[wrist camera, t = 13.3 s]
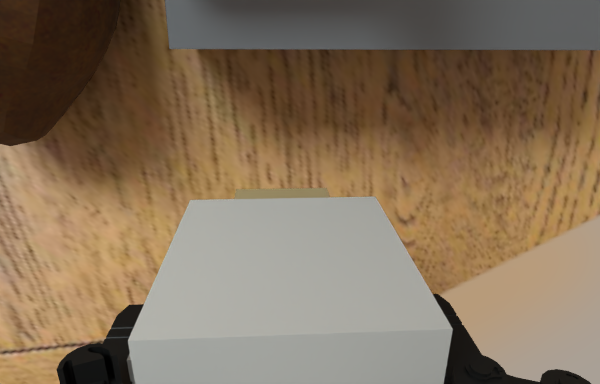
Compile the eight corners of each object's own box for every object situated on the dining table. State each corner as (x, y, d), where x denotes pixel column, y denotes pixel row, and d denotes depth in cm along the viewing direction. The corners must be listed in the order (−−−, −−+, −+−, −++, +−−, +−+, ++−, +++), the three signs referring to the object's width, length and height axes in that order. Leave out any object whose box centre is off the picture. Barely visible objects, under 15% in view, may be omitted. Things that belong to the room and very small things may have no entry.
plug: (216, 290, 21) (163, 548, 11) (206, 163, 19) (127, 341, 8) (347, 286, 21) (418, 531, 11) (354, 161, 19) (453, 328, 9)
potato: (-57, 97, 20) (-215, 128, 14) (-14, -150, 17) (-193, -262, 11) (95, 154, 22) (17, 207, 15) (160, -65, 18) (97, -118, 12)
